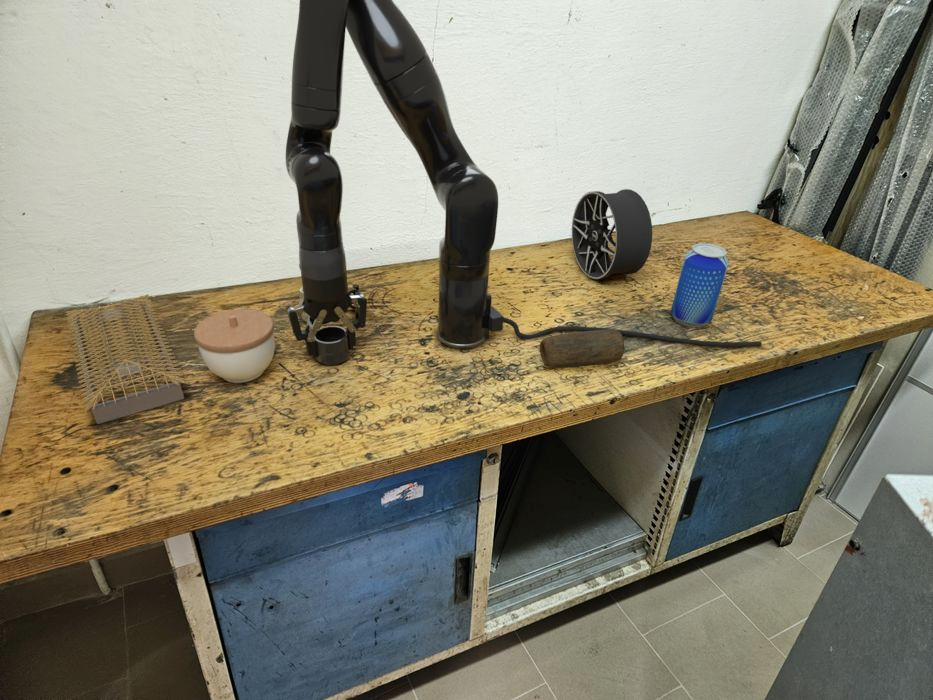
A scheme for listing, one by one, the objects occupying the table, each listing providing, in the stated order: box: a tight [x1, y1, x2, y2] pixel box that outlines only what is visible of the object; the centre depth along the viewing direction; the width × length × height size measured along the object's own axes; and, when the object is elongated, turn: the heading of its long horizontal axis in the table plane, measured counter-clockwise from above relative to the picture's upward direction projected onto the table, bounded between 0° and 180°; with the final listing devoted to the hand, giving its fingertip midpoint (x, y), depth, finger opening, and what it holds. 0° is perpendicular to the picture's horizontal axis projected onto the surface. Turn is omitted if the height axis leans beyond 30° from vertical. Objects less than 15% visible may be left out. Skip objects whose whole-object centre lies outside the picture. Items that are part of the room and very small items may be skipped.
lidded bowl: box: [193, 308, 276, 384], centre depth 101 cm, size 13×13×11 cm
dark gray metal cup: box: [314, 325, 350, 367], centre depth 107 cm, size 6×6×5 cm
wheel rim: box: [571, 188, 653, 280], centre depth 138 cm, size 20×9×20 cm, turn 20°
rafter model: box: [65, 294, 188, 425], centre depth 103 cm, size 35×14×6 cm, turn 33°
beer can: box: [670, 242, 730, 329], centre depth 121 cm, size 8×8×16 cm
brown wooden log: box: [539, 328, 625, 369], centre depth 108 cm, size 15×7×7 cm, turn 105°
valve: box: [298, 283, 361, 323], centre depth 119 cm, size 7×7×12 cm
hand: (332, 351), depth 108 cm, fingers closed on dark gray metal cup, 6 cm apart
